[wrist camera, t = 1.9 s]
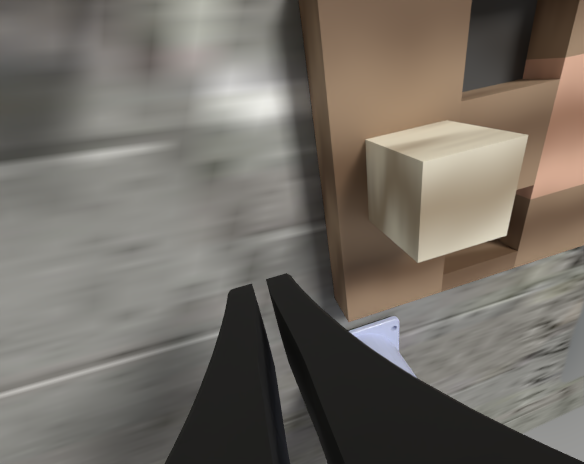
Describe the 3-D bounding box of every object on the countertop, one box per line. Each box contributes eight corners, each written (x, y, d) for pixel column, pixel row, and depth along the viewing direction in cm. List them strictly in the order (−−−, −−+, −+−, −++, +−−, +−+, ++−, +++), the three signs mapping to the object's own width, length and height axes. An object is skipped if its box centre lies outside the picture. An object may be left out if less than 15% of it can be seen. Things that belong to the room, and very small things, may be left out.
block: (439, 200, 18) (506, 235, 14) (368, 220, 17) (417, 263, 13) (446, 120, 15) (528, 134, 12) (365, 139, 15) (423, 161, 11)
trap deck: (577, 222, 26) (612, 235, 23) (334, 298, 22) (348, 322, 20) (683, -86, 16) (757, -111, 14) (294, -31, 13) (312, -52, 11)
